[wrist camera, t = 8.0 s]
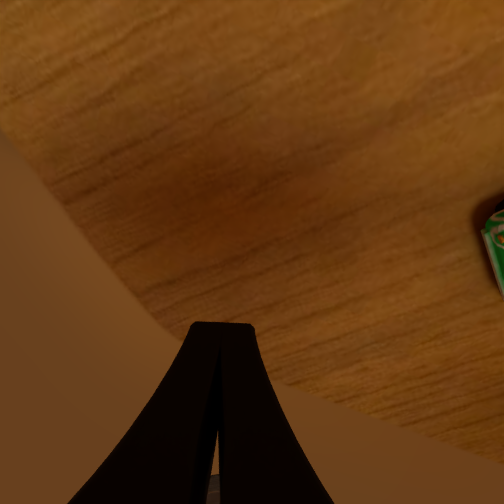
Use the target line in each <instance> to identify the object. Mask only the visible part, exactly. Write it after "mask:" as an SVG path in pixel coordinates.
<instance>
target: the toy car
mask: <svg viewBox="0 0 504 504" xmlns="http://www.w3.org/2000/svg"><path fill="white" fill-rule="evenodd" d="M480 231H481V234H482V237H483V240H484V243H485V246H486V249H487V252H488V256H489V259H490V262H491V265H492V268H493V271H494V274H495V277H496V280H497V284H498V287H499V290H500V293H501V296H502V299H503V301H504V200H503V201H501V202H500V203H499V204H498V205H497V206H496V208H495V212H494V214H493V215H492V216H491V217H490V218H489V219H488V220H487V222H486V228H484V229H482V230H480Z"/></svg>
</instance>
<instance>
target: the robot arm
mask: <svg viewBox="0 0 504 504" xmlns="http://www.w3.org/2000/svg"><path fill="white" fill-rule="evenodd" d="M217 432H218V443H219V488H220V504H334V502H333V501H332V499H331V497H330V496H329V494H328V493H327V491H326V490H325V488H324V486H323V485H322V483H321V481H320V480H319V478H318V476H317V475H316V473H315V471H314V470H313V468H312V466H311V464H310V463H309V461H308V459H307V457H306V456H305V454H304V452H303V450H302V448H301V447H300V444H299V443H298V441H297V439H296V437H295V435H294V433H293V431H292V429H291V427H290V425H289V423H288V421H287V419H286V417H285V415H284V412H283V411H282V408H281V406H280V404H279V401H278V399H277V397H276V394H275V392H274V390H273V387H272V385H271V382H270V380H269V377H268V375H267V372H266V369H265V366H264V364H263V361H262V358H261V355H260V351H259V348H258V344H257V340H256V335H255V329H254V327H253V326H252V325H251V324H247V323H224V322H200V321H196V322H194V323H193V324H192V325H191V326H190V328H189V331H188V334H187V336H186V338H185V340H184V342H183V344H182V346H181V348H180V350H179V352H178V354H177V356H176V358H175V359H174V361H173V363H172V365H171V367H170V368H169V370H168V371H167V373H166V375H165V376H164V378H163V380H162V381H161V383H160V385H159V386H158V388H157V389H156V391H155V393H154V394H153V396H152V397H151V399H150V400H149V402H148V403H147V404H146V406H145V407H144V409H143V410H142V411H141V413H140V414H139V416H138V417H137V419H136V420H135V421H134V423H133V425H132V426H131V427H130V429H129V430H128V431H127V433H126V434H125V435H124V437H123V438H122V439H121V440H120V442H119V443H118V444H117V446H116V447H115V448H114V449H113V451H112V452H111V453H110V455H109V456H108V457H107V458H106V459H105V461H104V462H103V463H102V465H100V467H99V468H98V469H97V470H96V472H95V473H94V474H93V475H92V476H91V477H90V479H89V480H88V481H87V482H86V483H85V484H84V485H83V486H82V488H81V489H80V490H79V491H78V492H77V493H76V495H74V497H73V498H72V499H71V500H70V501H69V502H68V504H206V501H207V495H208V489H209V483H210V476H211V470H212V464H213V458H214V452H215V446H216V439H217Z"/></svg>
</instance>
